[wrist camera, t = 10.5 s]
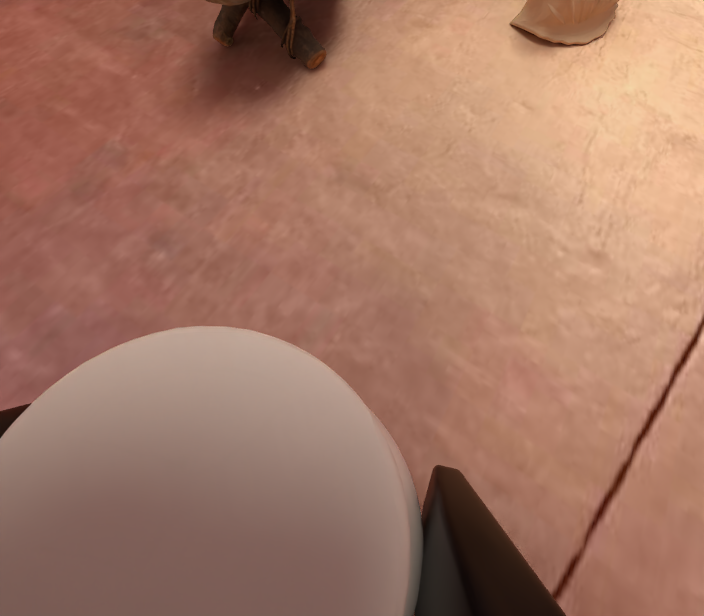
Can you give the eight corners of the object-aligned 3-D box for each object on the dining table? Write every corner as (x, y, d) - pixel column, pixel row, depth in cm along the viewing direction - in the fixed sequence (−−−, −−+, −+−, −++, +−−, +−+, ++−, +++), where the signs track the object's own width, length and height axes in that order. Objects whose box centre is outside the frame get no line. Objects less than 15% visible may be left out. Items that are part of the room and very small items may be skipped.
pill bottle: (252, 406, 15) (115, 220, 6) (418, 479, 14) (533, 382, 5) (151, 597, 13) (-288, 728, 4) (342, 699, 12) (322, 1169, 3)
